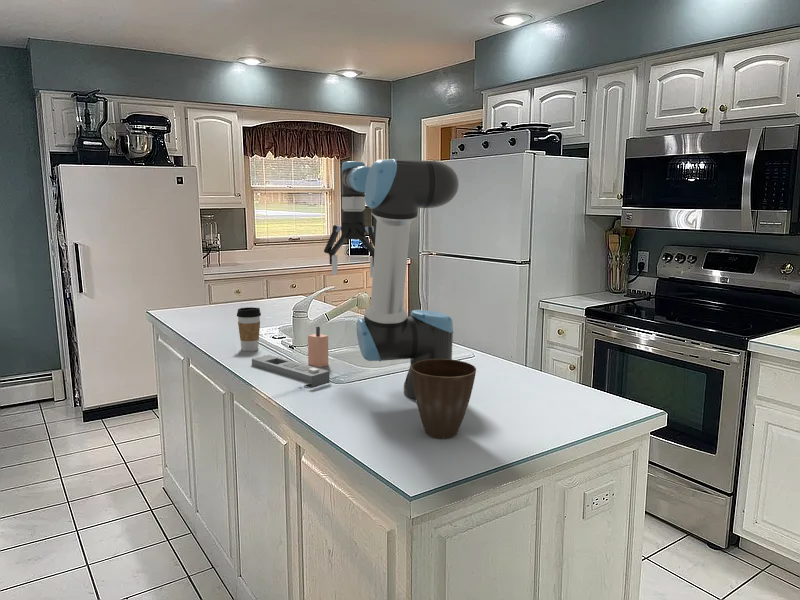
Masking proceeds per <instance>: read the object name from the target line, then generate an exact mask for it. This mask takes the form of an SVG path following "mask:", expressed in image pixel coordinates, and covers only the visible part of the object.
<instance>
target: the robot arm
mask: <svg viewBox="0 0 800 600" xmlns="http://www.w3.org/2000/svg"><path fill="white" fill-rule="evenodd" d="M340 173H341V210H342V212H341V225H339V224H334V225H333V226H332V232H331V234H330V236H329V238H328V241H327V243H326V245H325V247H324V249H323V252H324V254H327V255H329V256H328V257H329V264H330V265H331V276H336V275H338V271H339V270H338V269H339V268H338V265H339V264H338V254H336V253H337V252H338V251H339V250H340V249H341V247H342V246H343V244H344V243H345V242H346V241H347V240H355V241H356V240H357V241H358V240H359V241H360V242H361V243H362V245H363V246H364V247H365V248H366V250H367V251H368V252H369V254H370V255H371V257H369V278H371V279H372V280H371V281H372V282H371V293H370V294H371V297H370V298H371V299H370V305H369V306H368V307H367V308H366V309H364V312H363V313H364V314H363V315H364V316H363V317H360V318H358V319H357V321H356V336H357V341H358V342H357V343H358V346H359V347H358V348H359V350H360V353H361V356H362V357H363V358H364V360H365V361H367V362H382V361H383V362H384V361H397V360H409V359H410V365H409V369H408V371H407V375H406V378H405V379H404V380H405V381H404V383H403V394H404V395H405V396H406V397H408V398H411V399H413V400H414V399H415V400H416V397H415V392H414V386H413V378H412V370H411V366H412V364H414V363H416V362H418V361H422V360H429V359H450V360H453V337H454V330H453V329H454V326H453V318H452V317H451V316H449V315H448V314H447V313H443V312H438V311H433V310H426V309H413V310H412V311H411V313H410V316H408V312H407V311H406V310H405V309H404V308H403V307H404V300H405V299H404V297H405V289H406V287H405V286H406V285H405V284H406V279H407V278H406V275H407V265H408V255H409V245H410V235H411V234H410V231H411V223H412V222H413V221H415V220H416V219H417V218H418V212H419V209H431V208H432V209H433V208H439V207H442V206H444V205H447V204H448V203H450V202H451V201H452V200H453V199H454V198H455V197H456V195H457V192H458V191H459V186H460V185H459V178H458V175H457V173H456V172H455V170H454V168H452V167H450V166H449V165H448V164H446V163H443V162H440V161H436V160H418V159H415V160H414V159H400V158H399V159H397V158H389V159H387V158H386V159H378V160H376V161H374V162H372V164H371V166H366V164H365V162H363V161H349V160H348V161H343V162H342V164H341V172H340ZM366 207H367V208H369V209H371V211H370V212H371V216H373V217H374V218H375V220H376V224H375V225H376V226H374V225H371V226H370V225H369V226H366V212H365V211H364V210H365V209H366ZM340 232H342V234H341V236H340V237H339V239H338V240H337V238H338V235H339V234H340ZM365 233H367V234H368V236H369V238H370V240H371V242H372V243H371V242H370V240H368V237H367V235H365ZM336 240H337V241H336ZM335 241H336V243H335Z"/></svg>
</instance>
